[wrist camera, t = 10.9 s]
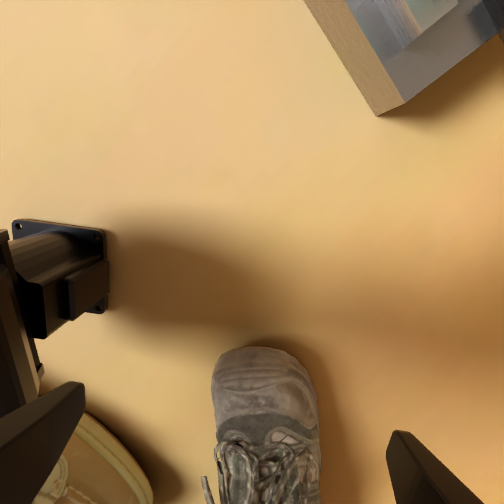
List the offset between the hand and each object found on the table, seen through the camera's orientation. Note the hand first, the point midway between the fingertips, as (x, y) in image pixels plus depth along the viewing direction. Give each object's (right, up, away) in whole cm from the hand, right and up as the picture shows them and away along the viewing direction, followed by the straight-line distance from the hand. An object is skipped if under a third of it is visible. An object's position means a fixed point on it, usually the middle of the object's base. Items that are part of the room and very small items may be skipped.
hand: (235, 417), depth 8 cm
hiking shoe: (+2, -11, +17) cm, 21 cm away
